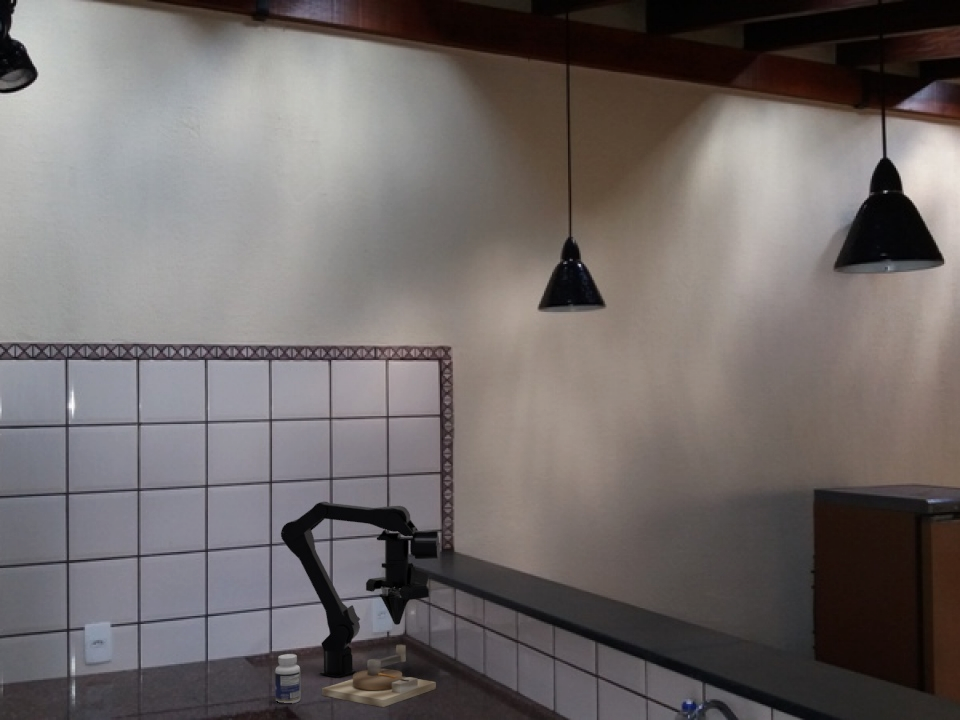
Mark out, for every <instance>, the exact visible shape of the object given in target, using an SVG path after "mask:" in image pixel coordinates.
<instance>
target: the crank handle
mask: <svg viewBox="0 0 960 720" xmlns="http://www.w3.org/2000/svg"><path fill="white" fill-rule="evenodd" d="M395 647H396V648H395V655H391V656H390V655H389V656H387V657H383V658H380V659H378V658H373V659H368V660H367V665H366V666H367V668H366V669H364V670H360V671H356V672H355V673H352V674H353V675H352V679H353V686H354V687H356V688H359V689H365V690H383V689H390V688H392V683H393V682H396V681H399V680H401V679H402V676H403V673H402V671H400V670H397V669H392V668H391V669H390V668H383V667H386V666H390V665H394V664H396V663H404V662H406V661H407V660H406V659H407V655H406V654H407V653H406V652H407V651H406V650H407V649H406V648H407V647H406V644H397V645H396V646H395Z"/></svg>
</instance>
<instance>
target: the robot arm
mask: <svg viewBox="0 0 960 720" xmlns="http://www.w3.org/2000/svg"><path fill="white" fill-rule="evenodd" d="M324 520H331V521H332V520H334V521H341V522H350V523H359V524H368V525H372V526H375V527H377V528H379V529H383V530H382V531H381V533H380V535H378V536H377V537H376V540H377V541H384V554H385V555H384V562H382V563H381V568H382V569H383V568H384V570H385V571H384V576H380V577H373V578H368V580H367V581H366V582H365V591H368V592H371V593H372V592H375V590H381V593H380V594H379V598H380V599H381V600H382V602H383V603H384V606H385V607H386V609H387V612H388V614H389V615H390V618H391V619H392V622H393V624H394V625H400V624H401V623H402V618H403V615H404V613H405V610H406V607H407V605H408V602H410V601H411V600H418V599H424V598H429V597H430V588H429V587H428V586H427V585H428V582H429V577H430V574H429V573H426V572H424V571H421V570H417V569H416V567H415V566H414V564H413V562H410V558H409V557H410V555H411V556H412V557H414V559H415V560H440V556H441V542H440V536H439V531H438V530H437V529H436V530H430V531H429V530H425V531H423V530H419V529H418V528H417V527H416V525H415V524H414V522H413V521H412V520H411V514H410V511H409V510H408V509H407V507H405V506H403V505H391V506H380V507H379V506H378V507H370V506H369V507H368V506H359V505H350V504H342V503H332V502H329V501H319V502H317V503H316V504H315V505H313V507H312V508H311V509H309V510H308V511H306V512H305V513H304V514H303V515H302V516H300V517H298V518H297V519H294V520H292V521H289V522H286V523H285V524H284V525H283V527H282V529H281V530H280V537H281V540H282V542H284V544H285V545H286V547H287V548H288V549H289V551H290V552H291V553H293V555H295V557H297V559H298V560H299V561H300V563H301V565H302V568H303V569H304V571H305V573H306V575H307V577H308V580H309V581H310V583H311V585H312V587H313V588H314V590H315V592H316V596H317V597H318V598H319V600H320V603H321V604H322V607H323V608H324V611H325V615H326V621H327V628H328V630H329V633H330V634H328V636H327V637H326V638H325V639H324V640H323V641H321V643H320V644H321V647H322V650H323V670H322V671H319V675H321V676H327V677H333V678H341V677H345V676H348V675H351V674H355V673H357V670H356V669H353V654H352V647H350V646H349V645H351V644H352V641H353V640H354V639H355V637H357V636H358V634H359V632H360V628H361V627H360V626H361V625H360V622H359V621H360V620H361V618H360V617H359V616H358V615H357V613H356V610H355V607H354V605H353V604H352V605H350V606H348V607H347V605H345V604H344V603H343V601H342V599H341V598H340V596H339V594H338V592H337V590H336V588H335V586H334V584H333V582H332V580H331V578H330V576H329V574H328V572H327V570H326V568H325V565H324V564H323V563H322V561H321V559H320V556H319V554H318V553H317V550H316V544H315V538H314V534H313V532H312V531H313V530H314V529H315V528H316V527H318V526H319V525H320V524H321V523H322V522H323V521H324ZM389 531H390V532H389Z"/></svg>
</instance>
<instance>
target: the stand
mask: <svg viewBox="0 0 960 720" xmlns="http://www.w3.org/2000/svg"><path fill="white" fill-rule="evenodd" d="M436 683H437V682H436V681H431V680H426V679H420V678H419V679H418V678H417V677H412V676H411V677H410V676H409V677H408V676H407V677H406V676H403V675H402V679H401V680H399V681H396V682H393V683H392V688H390V689H383V690H365V689H359V688H356V687H354V686H353V678H351V679H349V680H346V681H342V682H339V683H336V684H333V685H330V686H329V685H328V686H325V687H322V689H321V695H322V696H324V697H329V698H334V699H339V700H344V701H348V702H354V703H358V704H363V705H364V704H365V705H368V706H369V705H370V706H377V707H380V708H385V707H388V706H390V705H393V704H396V703H398V702H402V701H404V700H405V701H406V700H408V699H410V698H414V697H416V696H419V695H422V694H424V693H425V694H426V693H428V692H431V691H434V690H436V688H437V687H436Z"/></svg>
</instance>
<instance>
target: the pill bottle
mask: <svg viewBox="0 0 960 720" xmlns="http://www.w3.org/2000/svg"><path fill="white" fill-rule="evenodd" d="M277 661H278V662H277V663H278V664H279V665H278V666H276V668H275V673H274V674H275V677H274V678H275V680H274V682H275V683H274V684H275V686H274V687H275V688H274V689H275V702H276V701H278V702H284V703H292V704H296V703H298V702H300V701H301V668H300V667H301V666H299V665H298V664H297V661H298V657H297V655H296V654H294V653H286V654H281V655H279V656H278V660H277Z"/></svg>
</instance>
